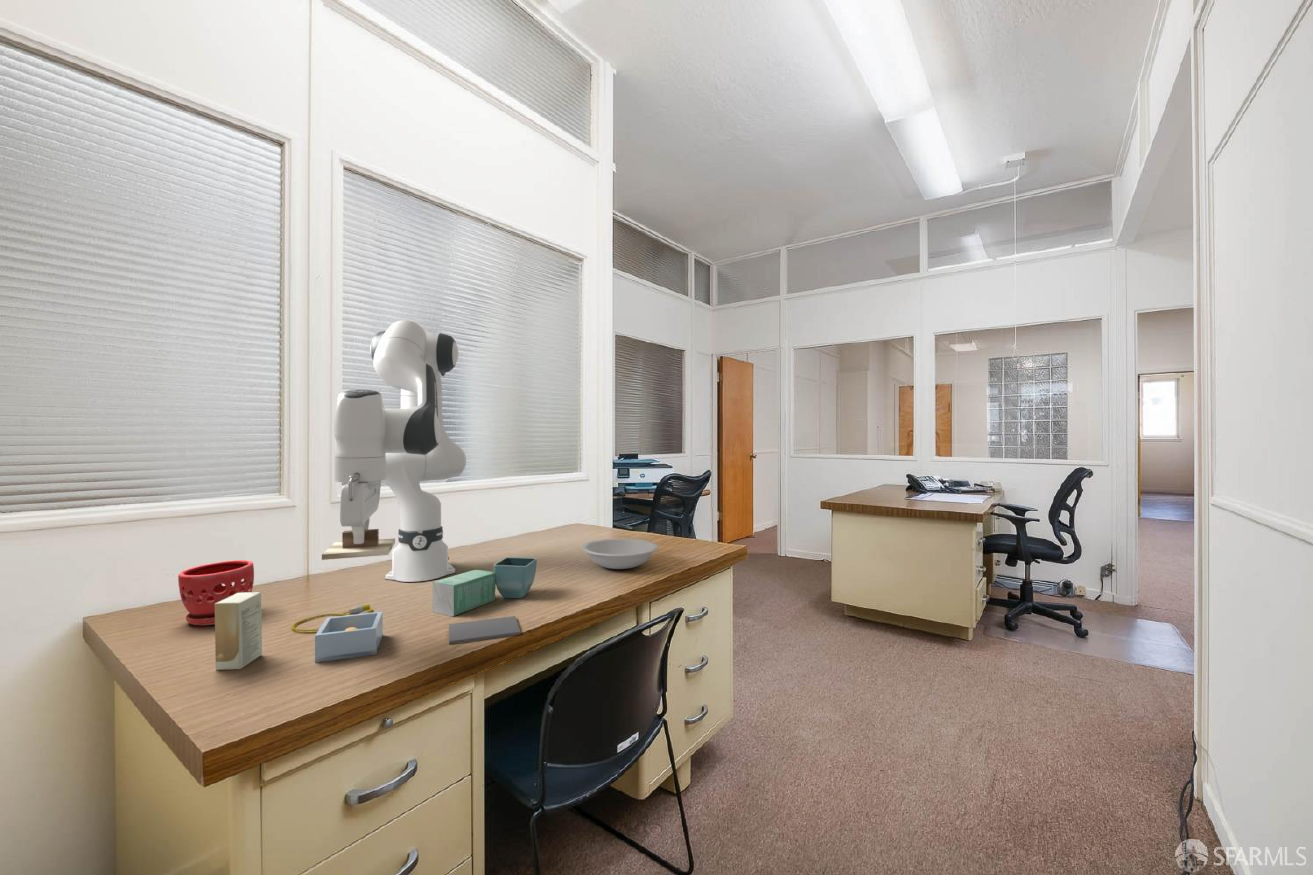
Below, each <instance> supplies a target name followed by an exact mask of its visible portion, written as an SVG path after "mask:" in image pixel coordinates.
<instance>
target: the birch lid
mask: <svg viewBox="0 0 1313 875" xmlns="http://www.w3.org/2000/svg"><path fill="white" fill-rule="evenodd" d="M379 533H380V532H379V528H373V529H372V528H368V530H365V541H364V543H362V544H354V540H353V532H352V529H351V530H344V531H343V532H342V535H341V536H342V537H341V538H342V541H335V542H334V543H332V544H331V545H330V546H329V548H327V549H326V550H325V551H324V552H323V553H321V560H322V561H323V560H326V561H327V560H339V559H352V558H366V557H367V558H368V557H379V556H380V557H381V556H389V555H390V553H391V551H392V550H393V549H394V548H393V547H394V546H395V543H396V538H381V539H380V538H379V537H380V536H379Z"/></svg>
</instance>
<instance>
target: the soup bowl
mask: <svg viewBox="0 0 1313 875" xmlns="http://www.w3.org/2000/svg"><path fill="white" fill-rule="evenodd" d="M658 547H659V545H658V544H656V543H655V542H653V541H649V540H645V539H638V538H636V539H635V538H625V537H623V538H621V537H620V538H618V537H617V538H604V539H597V540H593V541H589V542H586V543H584V544H583V545H581V550H582V551H583V552H584V553H586V554H587V555H588V557H589V559H590V560H592V561H593V562H594V564H596V565H598V566H600V567H602V568H606V569H611V570H626V569H627V570H628V569H633V568H636V567H639V566H641V565H643V564H645V563H646V562H647V561H648V560H649V559H650V558H651V556H652V555H653V553H654V552H656V551H657V550H658V549H659V548H658Z"/></svg>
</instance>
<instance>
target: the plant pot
mask: <svg viewBox="0 0 1313 875" xmlns="http://www.w3.org/2000/svg"><path fill="white" fill-rule="evenodd" d="M254 567H255V566H254V563H253V561H252V560H243V559H240V560H239V559H238V560H237V559H236V560H226V561H218V562H214V563H212V562H211V563H206V564H203V565H202V564H201V565H198V566H195V567H190V568H187V569H184V570H183V571H181V572H180V573H179V574H178V577H177V578H178V579H177V582H178V583H177V584H178V588H179V595H180V599H181V601H182V604H183V606H184V608H185V610H186V611H187V612H188V614H187V615H186V616H185V620H186V621H187V623H189V624H190V625H194V626H213V625H214V626H215V603H217V602H219V601H221V600H223V599H225V598H228V597H230V596H232V595H234V594H236V593H245V592H253V588H254V583H255V580H254V579H255V569H254ZM232 584H233V585H232Z"/></svg>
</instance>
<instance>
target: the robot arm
mask: <svg viewBox="0 0 1313 875" xmlns="http://www.w3.org/2000/svg"><path fill="white" fill-rule="evenodd" d="M369 348H370V349H369V350H370V355H371V360H372V362H373V365H372V366H373V369H374V371H375V373H376V375H377V376H378V378H380V379H381V380H382V382H384V383H385V384H387V385H389V386H391V387H393V388H395V389H399V390H400V408H384V401H383V396H382V393H381V392H379V391H376V390H373V389H354V390H353V389H352V390H345V391H342V392H340V393H339V394H338V395H337V396H338V397H337V400H336V404H335V410H334V411H335V412H334V420H333V421H334V423H333V424H334V426H333V434H334V438H335V442H336V449H335V452H334V459H333V461H334V462H333V463H334V465H333V466H334V482H336V483H341V490H340V508H339V509H340V510H339V511H340V512H339V520H340V521H339V522H340V525H341V526H342V527H350V528H351V530H352V532H353V540H354V544H362V543H364V541H365V530H368V529H370V521H371V519H370V518H371V517H372V515H374V514H375V513H376V512H377V511H378V509H379V505H380V499H381V498H380V496H381V484H382V483H384V484H385V485H386V486H387V487H389V489H390V490H391V491H392V493H393V494H394V495H395V498H396V500H397V505H398V511H399V529H398V533H397V538H398V539H397V540H398V544H397V546H395V547H394V548H392V557H391V558H392V561H391V564H392V566H391V567H392V568H391V570H390V571H389V572H388V573H386V574H385V580H393V581H397V582H403V583H405V582H406V583H409V582H410V583H414V582H425V581H431V580H435V579H439V578H442V577H445V576H447V575H452V574H455V573H456V568H455V567H454V566H453V565H452V564H451V563H450V561H449V560H450V557H449V546H448V545H447V544H446V543H445V542H444V540H443V538H444V530H443V528H444V527H443V526H442V502H441V501H440V499H439V497H437V496H436V495H434V494H432V493H430V492H428V491H424V490H422V488H421V485H420V484H421V483H420V482H422V481H425V482H426V481H441V480H448V479H452V478H456V477H459V476H461V474H463V472H464V471H465V468H466V465H467V457H466V454H465V452H464V450H463V449H462V448H461V446H459V445H458V444H456V443H455V441H453V439H451V437H449V434H448V433H447V431H446V428H445V425H444V419H443V398H442V397H443V386H442V385H443V384H442V377H444V376H446V373H449V372H451V371H452V370H453V369H454V368H456V364H457V362H458V358H459V348H458V345H457V342H456V340H455V339H454V337H453V336H451V335H450V334H449V335H448V334H447V333H446V334H445V333H441V332H440V333H434V332H430V331H429V332H428V331H425V330H424V328H423V327H422V326H421V325H420V324H418V323H416V322H415V321H413V320H408V319H407V320H406V319H400V320H397V321H394V322H393V323H392V324H391V325H390V326H389V327H388V328H387V329H386V330H383V331H378V332H377V333H375V335H374V336H372V339H371V343H370V347H369Z"/></svg>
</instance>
